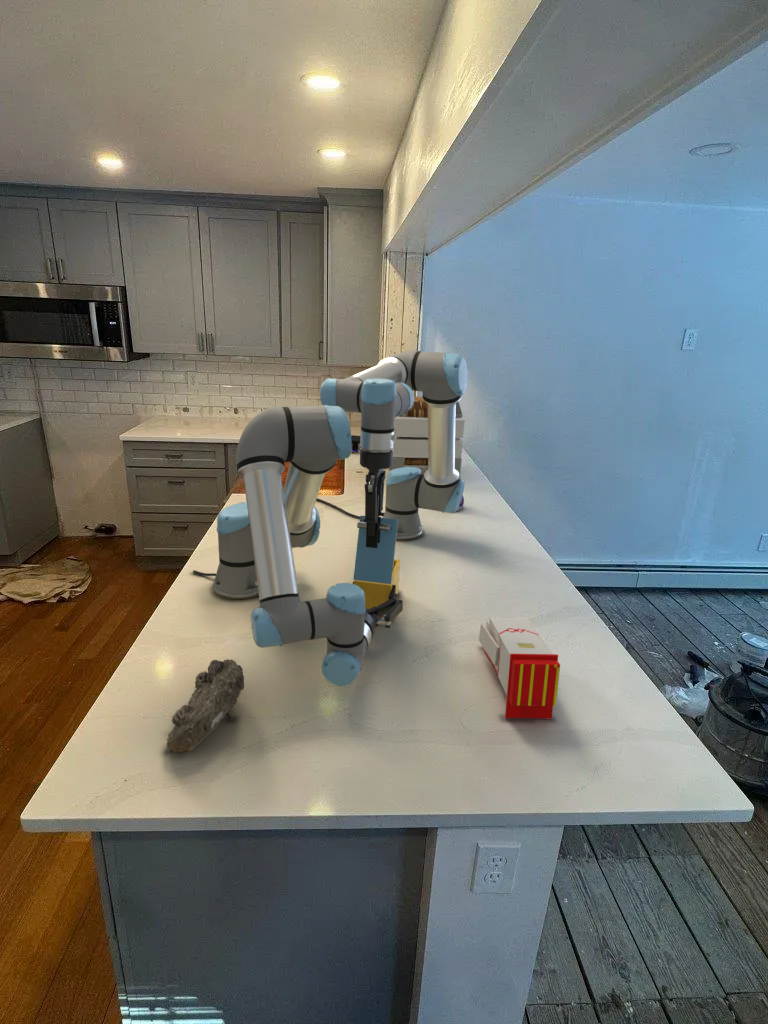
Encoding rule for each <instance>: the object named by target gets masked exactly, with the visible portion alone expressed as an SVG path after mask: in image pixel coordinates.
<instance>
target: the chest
mask: <svg viewBox="0 0 768 1024" xmlns="http://www.w3.org/2000/svg"><path fill="white" fill-rule="evenodd" d="M400 570H401V559H397V558H394V563H393V572H392V582H391V584H386V583H377V582H369V581H360V580H353V581H354V585H357V586H359V587H360V588H361V589H362V590H363V591H364V595H365V609H371V608H372V607H374V606H375V607H377V606H379V605H381V604H382V603H384V602H386V601H388V600H389V595H390V592H391V589H392V587H393V585H396V593H395V594H398V595H399V590H400V589H399V588H400ZM385 615H386V614H385ZM382 617H384V615H383V616H382ZM382 617H380V618H379V619H381V618H382Z"/></svg>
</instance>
